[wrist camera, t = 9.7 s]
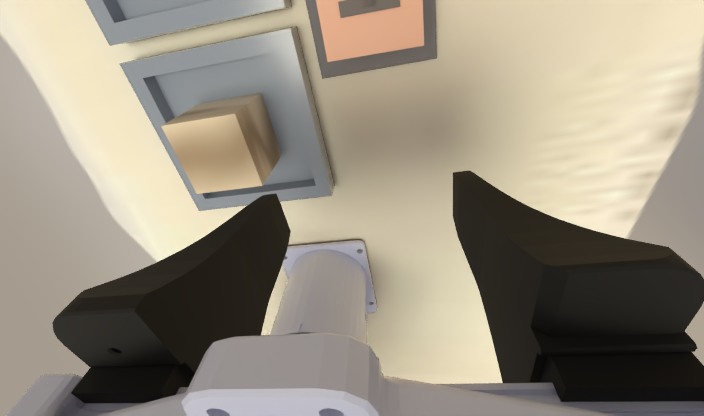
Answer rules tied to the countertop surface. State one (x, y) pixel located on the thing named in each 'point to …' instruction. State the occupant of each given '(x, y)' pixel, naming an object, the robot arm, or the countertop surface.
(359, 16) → the letter cube
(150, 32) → the dish
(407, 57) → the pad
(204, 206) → the dish
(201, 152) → the plain cube
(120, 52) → the countertop surface
